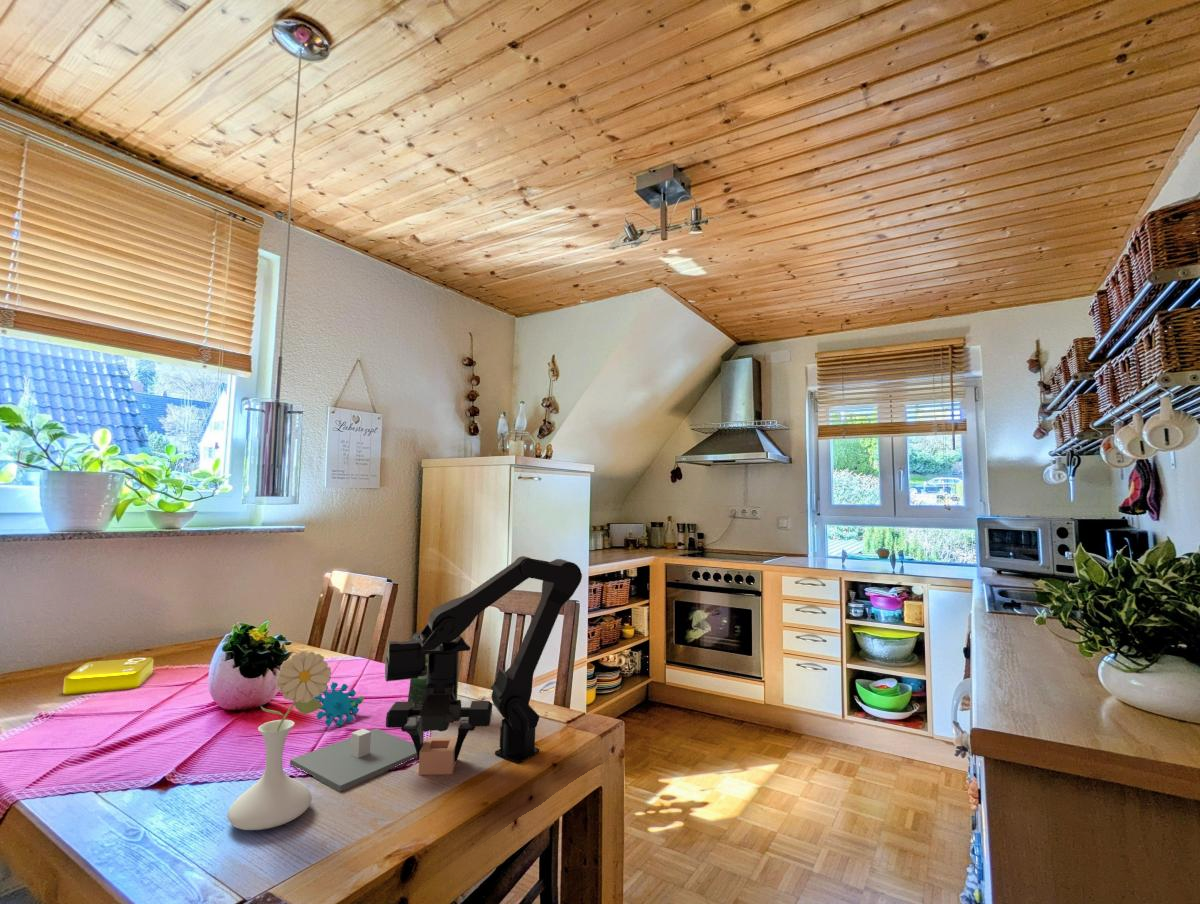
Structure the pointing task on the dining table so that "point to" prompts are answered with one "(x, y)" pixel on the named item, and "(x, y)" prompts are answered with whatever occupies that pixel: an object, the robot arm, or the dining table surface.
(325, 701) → the teal virus model
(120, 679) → the element tile
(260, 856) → the dining table surface
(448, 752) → the collar
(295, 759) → the post plate
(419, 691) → the coffee jar
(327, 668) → the flower in vase
